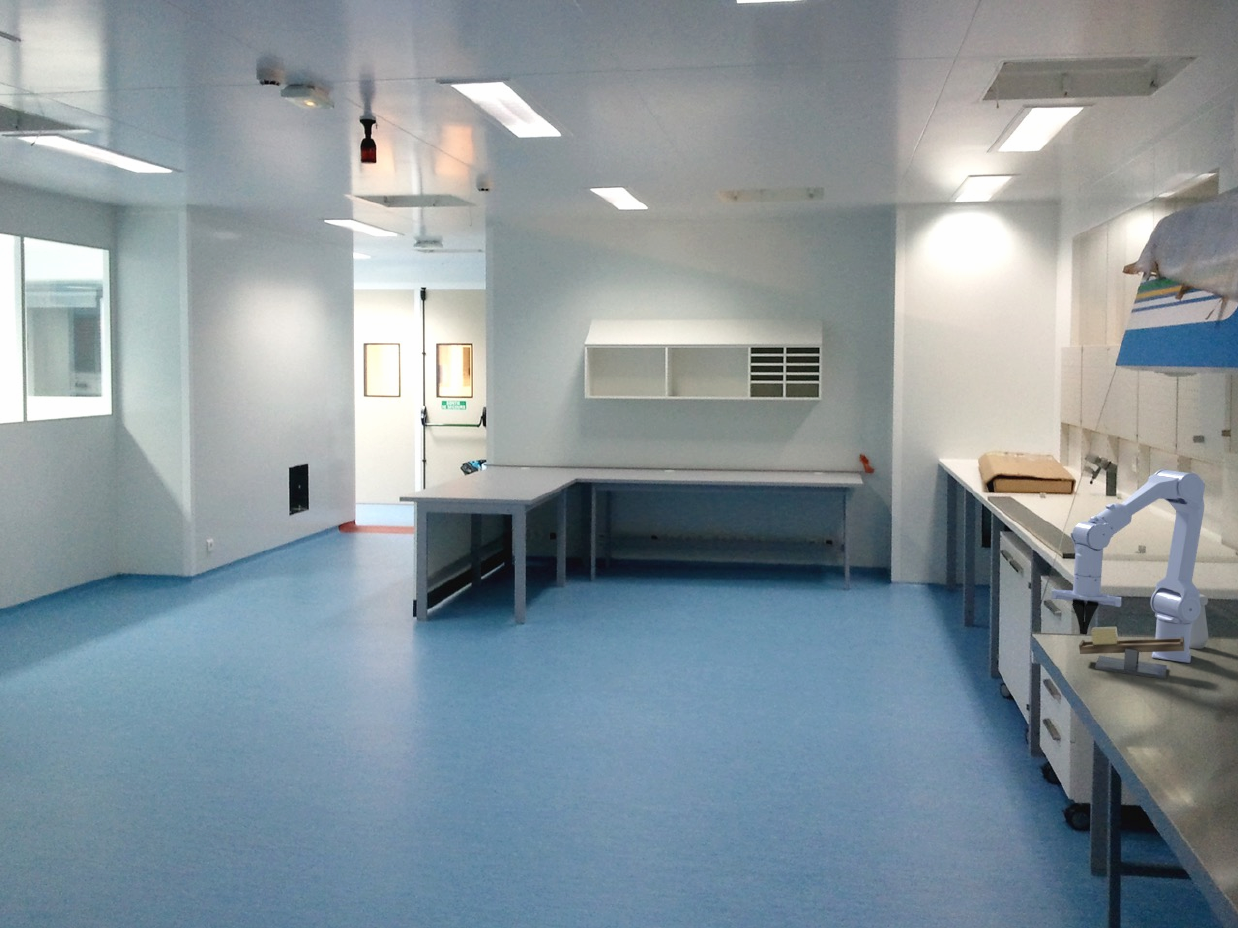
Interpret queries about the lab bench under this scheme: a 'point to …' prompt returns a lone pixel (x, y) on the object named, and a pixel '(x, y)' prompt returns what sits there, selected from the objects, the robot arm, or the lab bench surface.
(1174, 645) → the beam
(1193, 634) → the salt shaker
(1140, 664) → the pivot stand
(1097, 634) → the block
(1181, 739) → the lab bench surface
